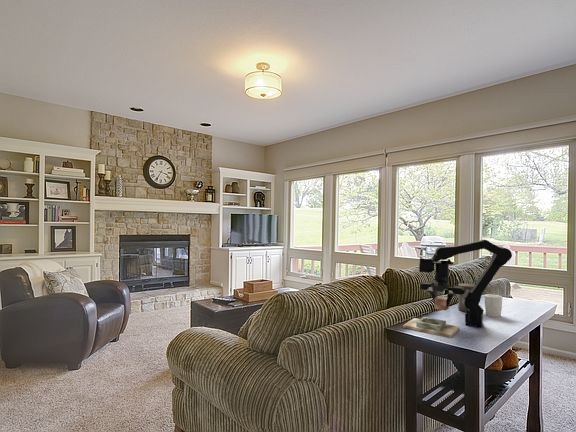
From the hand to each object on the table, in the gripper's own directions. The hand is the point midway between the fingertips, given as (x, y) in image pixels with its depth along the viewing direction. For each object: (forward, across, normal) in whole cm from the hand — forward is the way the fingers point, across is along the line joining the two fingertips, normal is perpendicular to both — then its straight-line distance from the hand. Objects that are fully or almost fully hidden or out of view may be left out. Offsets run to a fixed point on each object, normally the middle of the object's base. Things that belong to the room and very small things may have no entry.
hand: (441, 306), depth 167 cm
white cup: (+8, +17, +29) cm, 35 cm away
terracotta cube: (+1, 0, 0) cm, 1 cm away
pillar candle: (+8, +5, +31) cm, 32 cm away
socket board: (+8, -1, -13) cm, 15 cm away
